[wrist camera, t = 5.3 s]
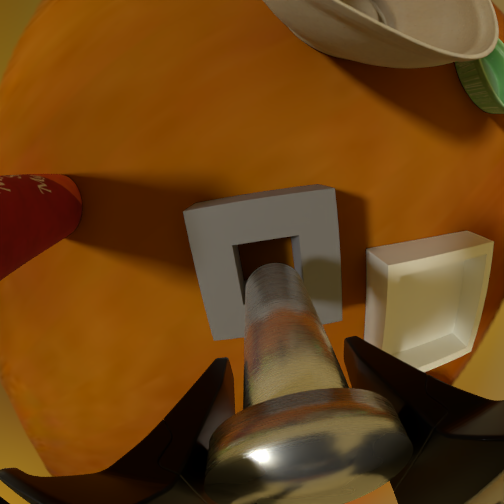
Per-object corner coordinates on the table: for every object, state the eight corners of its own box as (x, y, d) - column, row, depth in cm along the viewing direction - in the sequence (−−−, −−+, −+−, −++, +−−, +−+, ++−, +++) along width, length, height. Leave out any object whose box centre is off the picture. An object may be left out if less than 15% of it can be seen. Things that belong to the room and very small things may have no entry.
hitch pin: (320, 320, 15) (388, 491, 5) (238, 333, 15) (230, 518, 5) (314, 240, 13) (440, 401, 3) (222, 255, 13) (170, 451, 3)
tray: (452, 332, 24) (470, 351, 20) (361, 362, 24) (375, 389, 20) (467, 230, 20) (493, 241, 16) (366, 248, 21) (388, 265, 17)
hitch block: (327, 295, 22) (342, 320, 18) (219, 312, 22) (213, 340, 18) (318, 184, 19) (334, 188, 15) (195, 203, 19) (182, 211, 16)
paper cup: (81, 148, 18) (-62, 153, 4) (103, 236, 20) (-24, 317, 7) (24, 181, 18) (-91, 210, 5) (44, 256, 20) (-60, 324, 7)
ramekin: (508, 94, 16) (532, 91, 11) (486, 134, 17) (515, 133, 13) (464, 30, 14) (488, 19, 10) (437, 60, 16) (464, 48, 11)
